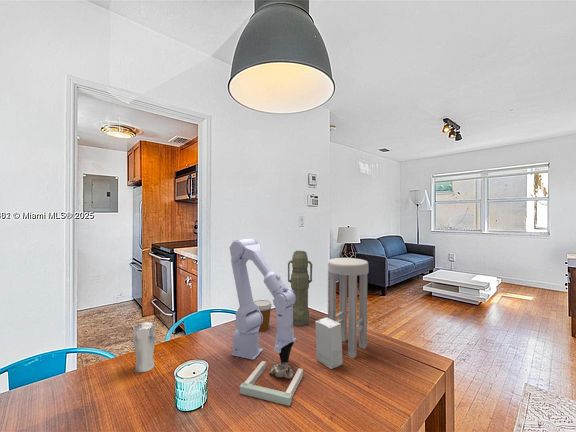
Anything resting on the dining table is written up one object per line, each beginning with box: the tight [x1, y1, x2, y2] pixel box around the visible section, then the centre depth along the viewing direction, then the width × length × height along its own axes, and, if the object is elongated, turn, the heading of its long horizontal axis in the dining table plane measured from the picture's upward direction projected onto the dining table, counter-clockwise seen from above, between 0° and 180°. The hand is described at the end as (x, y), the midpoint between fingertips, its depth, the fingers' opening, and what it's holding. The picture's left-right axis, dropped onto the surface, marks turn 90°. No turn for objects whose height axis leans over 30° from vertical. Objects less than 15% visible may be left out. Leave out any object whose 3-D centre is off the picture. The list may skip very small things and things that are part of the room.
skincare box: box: [314, 316, 344, 370], centre depth 101 cm, size 8×6×15 cm
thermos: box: [287, 250, 313, 327], centre depth 136 cm, size 9×12×35 cm
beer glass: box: [132, 321, 157, 374], centre depth 98 cm, size 7×7×15 cm
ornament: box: [269, 361, 294, 380], centre depth 94 cm, size 8×7×4 cm
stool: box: [327, 257, 370, 359], centre depth 112 cm, size 16×16×35 cm
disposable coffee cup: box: [253, 299, 273, 332], centre depth 130 cm, size 10×10×12 cm
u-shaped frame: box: [239, 360, 304, 407], centre depth 89 cm, size 16×15×2 cm
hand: (284, 363), depth 98 cm, fingers closed
